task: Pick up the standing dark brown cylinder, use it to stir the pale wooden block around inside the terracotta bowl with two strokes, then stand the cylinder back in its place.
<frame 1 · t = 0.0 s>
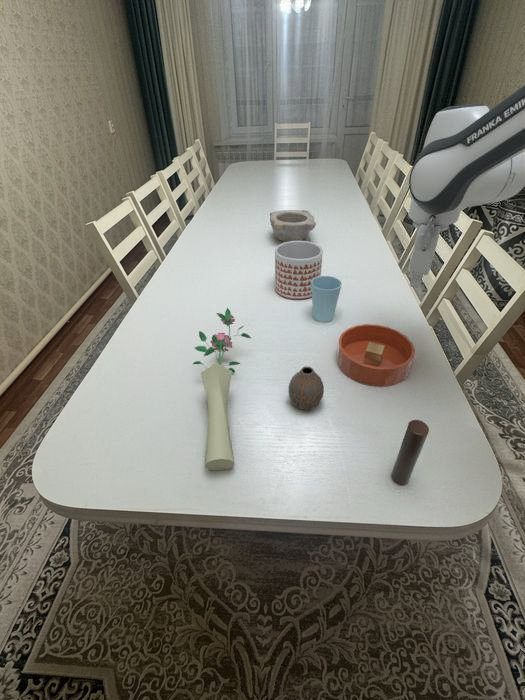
hand: (417, 275, 76), 19 cm above the table, tool pointing down, fingers open, 8 cm apart
vase: (305, 402, 73), on the table
bowl: (372, 362, 83), on the table
block: (372, 360, 82), point 1 cm above the table, touching bowl
flower vase: (222, 401, 74), on the table
mortar: (291, 239, 142), on the table
dark brown cylinder: (399, 477, 59), on the table
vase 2: (297, 289, 111), on the table
cup: (323, 317, 98), on the table
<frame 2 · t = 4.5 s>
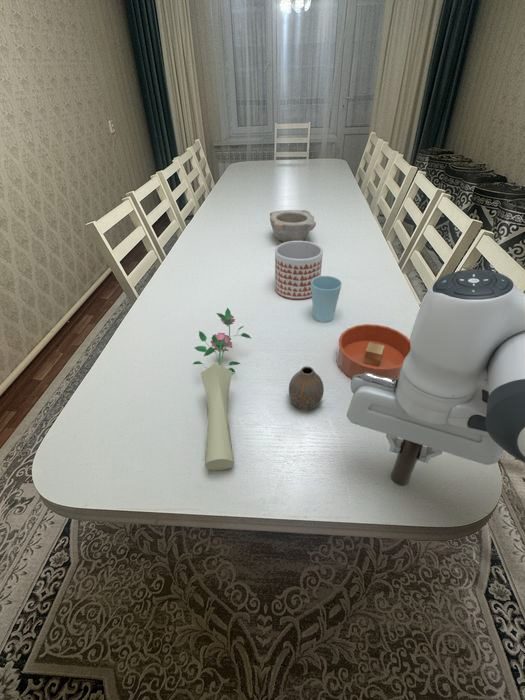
hand: (408, 454, 55), 7 cm above the table, tool pointing down, fingers closed on dark brown cylinder, 3 cm apart
dark brown cylinder: (399, 477, 59), on the table, touching gripper
everything else where it was.
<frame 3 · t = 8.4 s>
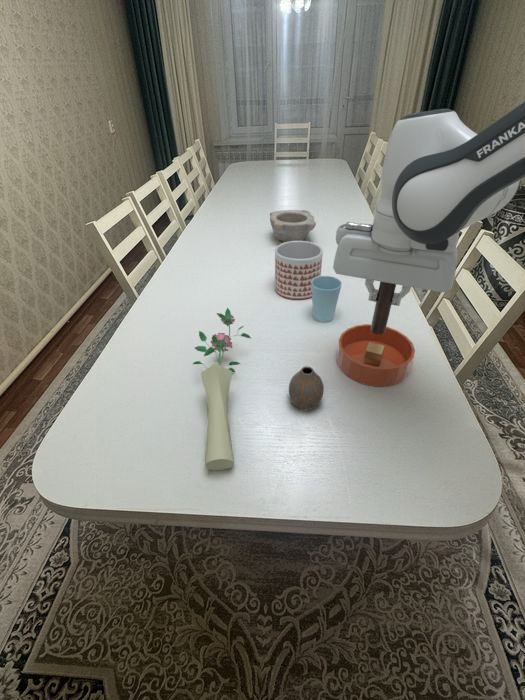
hand: (384, 301, 67), 19 cm above the table, tool pointing down, fingers closed on dark brown cylinder, 3 cm apart
dark brown cylinder: (377, 330, 71), point 12 cm above the table, touching gripper
everything else where it was.
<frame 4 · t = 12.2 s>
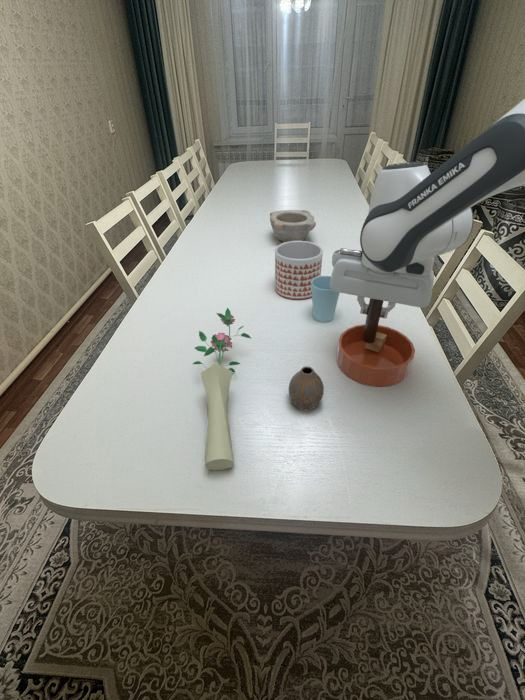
hand: (373, 314, 78), 11 cm above the table, tool pointing down, fingers closed on dark brown cylinder, 3 cm apart
block: (374, 347, 85), point 1 cm above the table, tilted 13°, touching bowl
dark brown cylinder: (368, 339, 82), point 4 cm above the table, touching gripper
everything else where it was.
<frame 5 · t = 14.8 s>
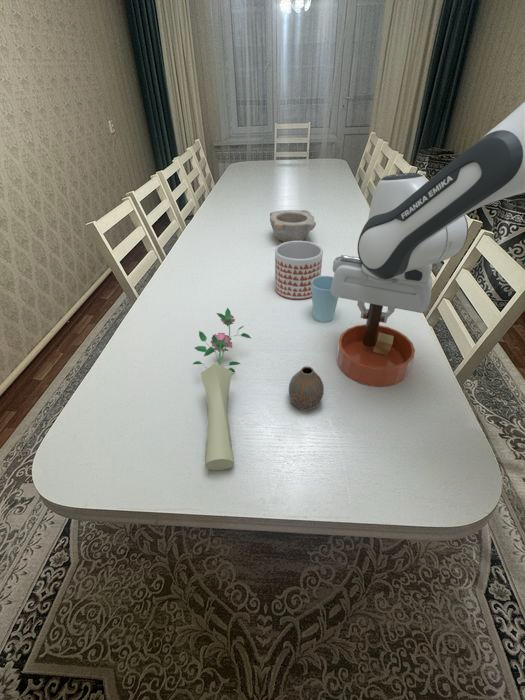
hand: (373, 319, 80), 9 cm above the table, tool pointing down, fingers closed on dark brown cylinder, 3 cm apart
block: (381, 349, 85), point 1 cm above the table, tilted 6°, touching bowl
dark brown cylinder: (368, 343, 84), point 3 cm above the table, touching gripper
everything else where it was.
when the fingers open (6 cm above the table, at t = 21.0 s): dark brown cylinder stays where it is, on the table.
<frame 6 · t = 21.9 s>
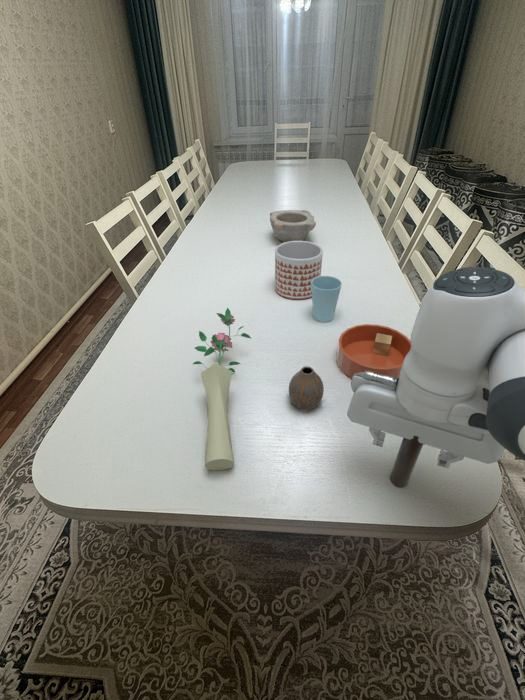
hand: (409, 452, 55), 7 cm above the table, tool pointing down, fingers open, 8 cm apart
block: (380, 350, 85), point 1 cm above the table, touching bowl
dark brown cylinder: (398, 479, 59), on the table
everything else where it was.
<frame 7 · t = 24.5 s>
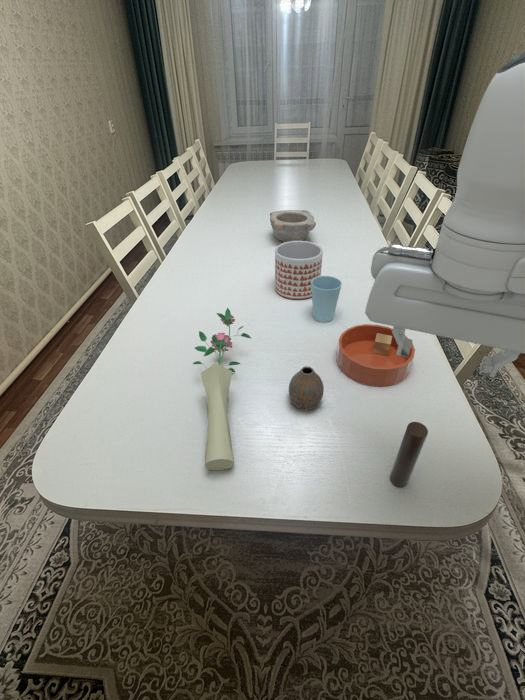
hand: (442, 362, 44), 25 cm above the table, tool pointing down, fingers open, 8 cm apart
nothing on the table moved.
at the end: block moved 4.5 cm from its start; block inside the target area in the bowl (4.5 cm from its centre), point 0.6 cm above the bowl's base; dark brown cylinder tilted 0° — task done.
